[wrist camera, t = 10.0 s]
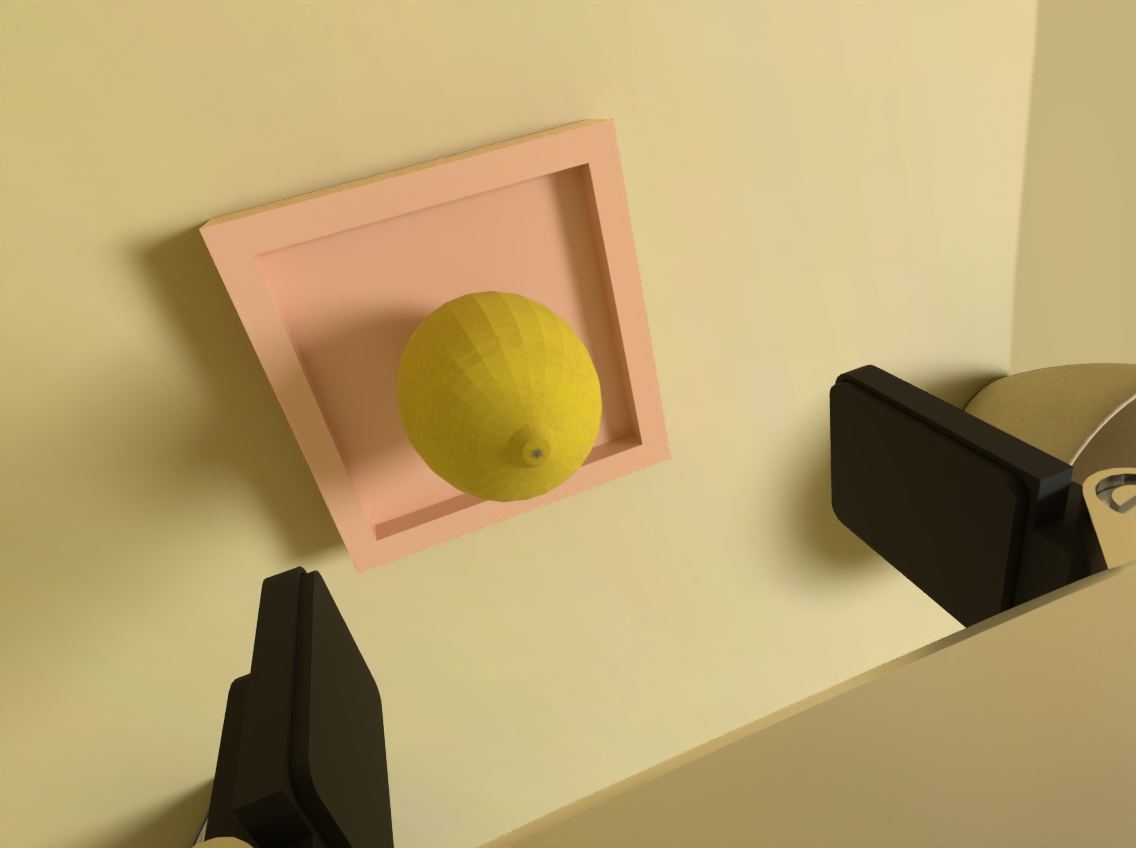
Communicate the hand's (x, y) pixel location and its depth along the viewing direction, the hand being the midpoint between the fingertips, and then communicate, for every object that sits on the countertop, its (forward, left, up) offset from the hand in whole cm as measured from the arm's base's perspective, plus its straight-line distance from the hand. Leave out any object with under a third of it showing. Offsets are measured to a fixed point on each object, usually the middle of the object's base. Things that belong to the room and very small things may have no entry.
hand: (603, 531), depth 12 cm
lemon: (+1, 0, -13) cm, 13 cm away
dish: (+1, 0, -14) cm, 14 cm away
